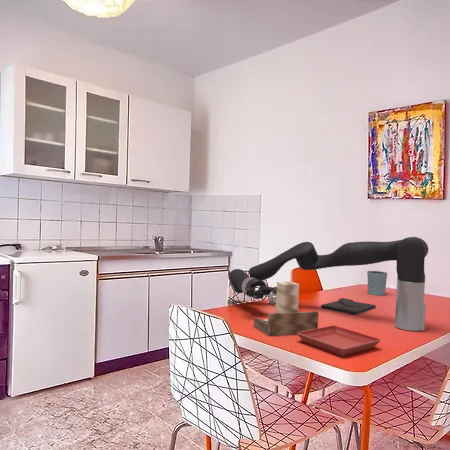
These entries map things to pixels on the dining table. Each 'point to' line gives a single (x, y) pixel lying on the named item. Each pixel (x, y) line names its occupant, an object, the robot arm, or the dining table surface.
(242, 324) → the dining table surface
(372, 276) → the grey-blue cup
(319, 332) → the plant saucer
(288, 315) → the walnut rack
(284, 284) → the birch block
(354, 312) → the picture frame
